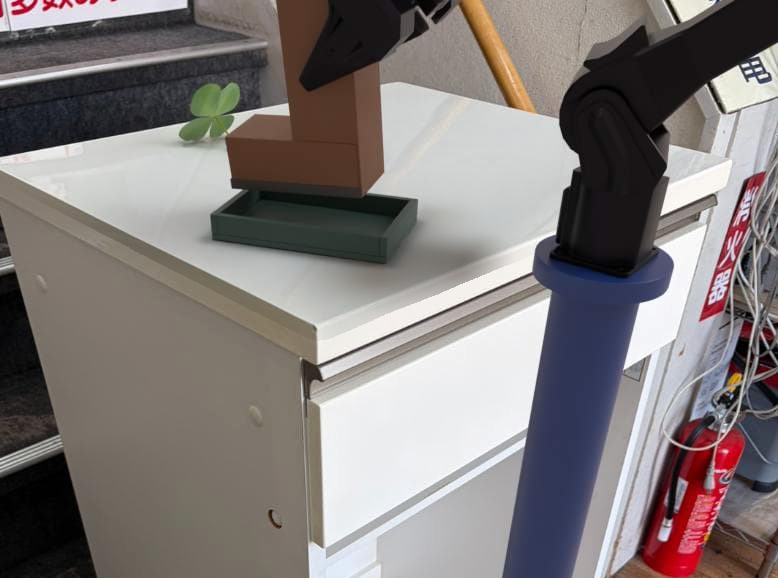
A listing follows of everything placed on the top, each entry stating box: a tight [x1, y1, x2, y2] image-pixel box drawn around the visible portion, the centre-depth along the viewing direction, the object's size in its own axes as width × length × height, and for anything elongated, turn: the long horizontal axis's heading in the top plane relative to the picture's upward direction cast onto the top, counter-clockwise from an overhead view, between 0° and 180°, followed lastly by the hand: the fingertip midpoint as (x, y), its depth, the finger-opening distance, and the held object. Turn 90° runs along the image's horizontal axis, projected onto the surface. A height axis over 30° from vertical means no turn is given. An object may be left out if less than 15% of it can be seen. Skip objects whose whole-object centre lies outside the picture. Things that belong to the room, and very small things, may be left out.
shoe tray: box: [209, 189, 419, 264], centre depth 69 cm, size 15×10×2 cm, turn 74°
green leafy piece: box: [178, 81, 241, 142], centre depth 86 cm, size 7×8×6 cm
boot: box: [224, 0, 385, 199], centre depth 63 cm, size 11×6×14 cm, turn 70°
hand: (317, 77), depth 62 cm, fingers closed on boot, 5 cm apart
